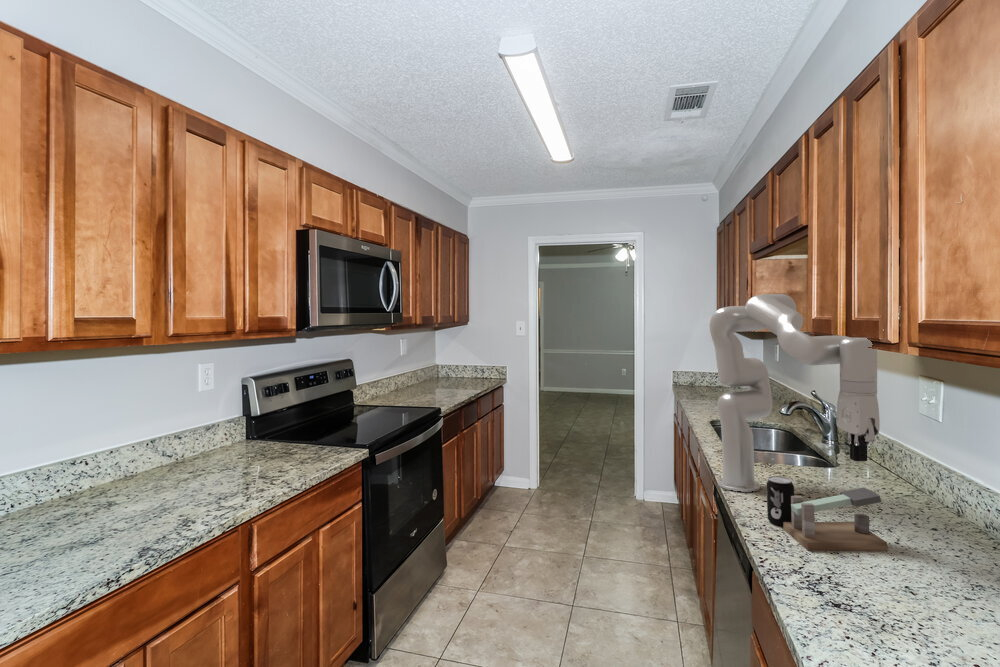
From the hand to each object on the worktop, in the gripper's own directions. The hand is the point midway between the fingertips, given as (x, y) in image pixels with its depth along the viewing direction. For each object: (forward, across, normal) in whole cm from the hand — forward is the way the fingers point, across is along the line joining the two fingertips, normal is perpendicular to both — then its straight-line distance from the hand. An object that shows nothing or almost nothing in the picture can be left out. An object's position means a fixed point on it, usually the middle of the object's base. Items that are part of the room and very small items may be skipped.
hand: (858, 460), depth 123 cm
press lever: (+11, +1, -6) cm, 13 cm away
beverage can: (+20, -10, -14) cm, 27 cm away
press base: (+20, +1, -7) cm, 21 cm away
